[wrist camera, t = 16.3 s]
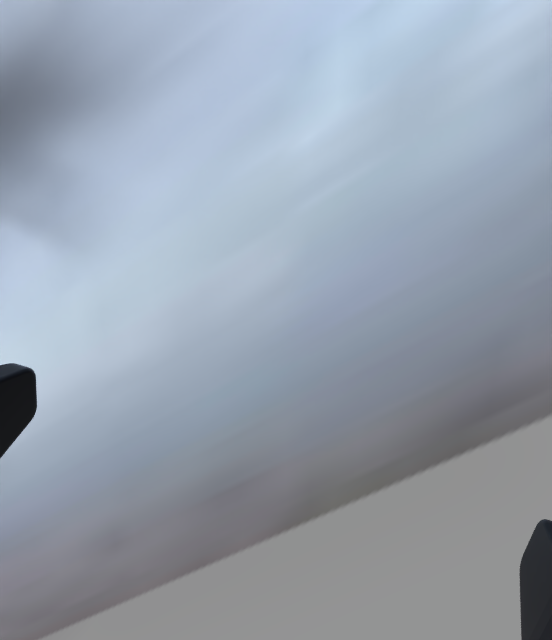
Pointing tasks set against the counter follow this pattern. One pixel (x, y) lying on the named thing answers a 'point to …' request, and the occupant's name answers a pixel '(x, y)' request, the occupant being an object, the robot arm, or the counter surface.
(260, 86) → the counter surface
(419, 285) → the counter surface
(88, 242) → the counter surface
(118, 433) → the counter surface
